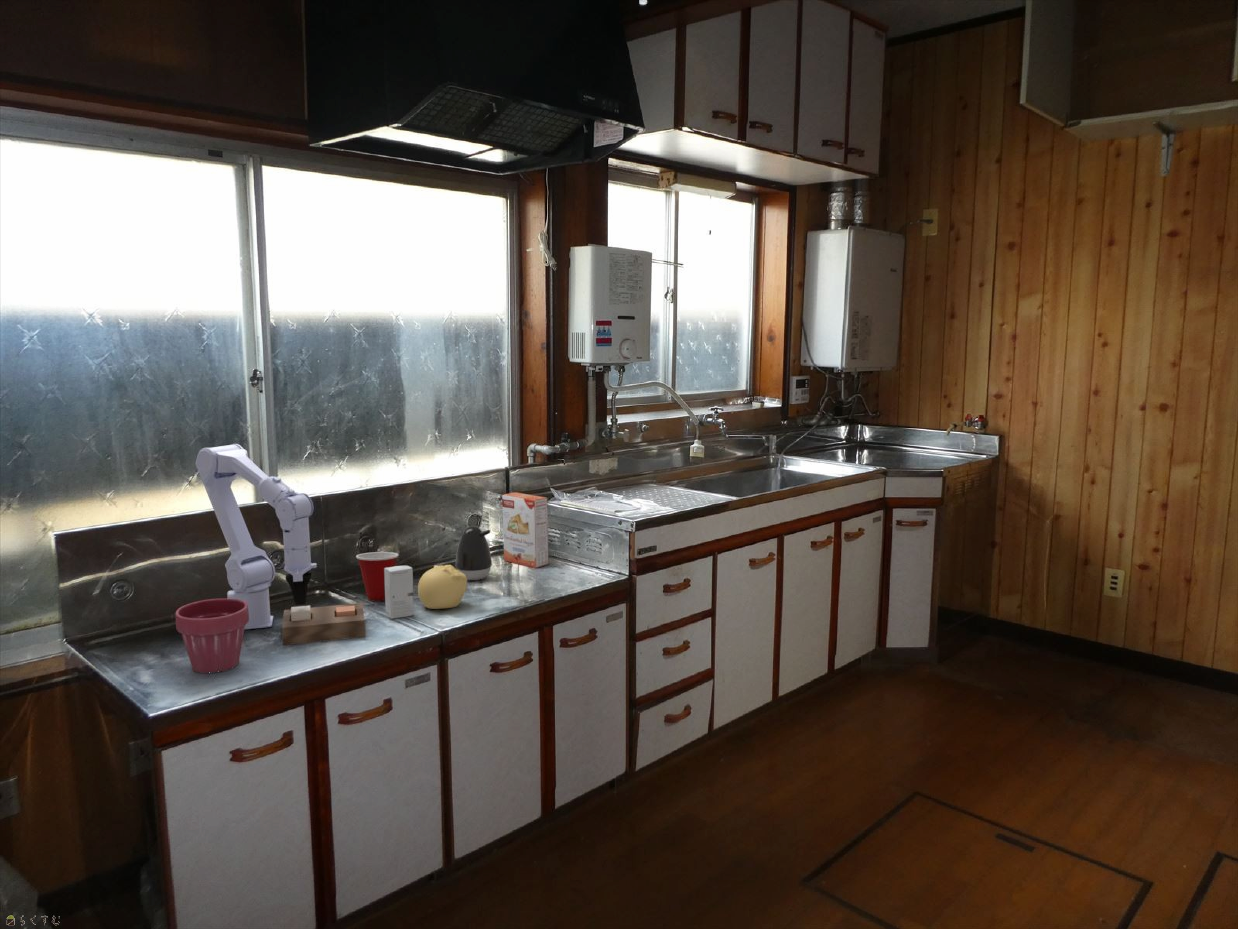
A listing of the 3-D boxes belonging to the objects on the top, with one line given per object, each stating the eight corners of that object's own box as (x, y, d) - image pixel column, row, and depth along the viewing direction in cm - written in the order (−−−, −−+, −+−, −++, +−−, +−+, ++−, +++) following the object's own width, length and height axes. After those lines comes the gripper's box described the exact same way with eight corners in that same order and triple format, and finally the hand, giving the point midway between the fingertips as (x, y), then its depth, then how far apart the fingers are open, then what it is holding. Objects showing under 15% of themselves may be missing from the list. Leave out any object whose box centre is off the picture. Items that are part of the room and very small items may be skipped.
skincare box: (391, 619, 225) (389, 571, 223) (385, 615, 229) (382, 567, 227) (415, 615, 228) (413, 568, 226) (408, 610, 232) (406, 564, 230)
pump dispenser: (483, 584, 255) (482, 531, 253) (449, 581, 258) (448, 528, 256) (498, 574, 265) (497, 523, 263) (465, 572, 268) (464, 521, 266)
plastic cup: (405, 592, 248) (404, 549, 246) (392, 604, 237) (390, 559, 236) (367, 591, 249) (365, 548, 247) (351, 603, 238) (349, 558, 237)
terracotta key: (337, 626, 215) (336, 612, 215) (336, 621, 219) (336, 607, 218) (355, 624, 216) (355, 610, 216) (355, 619, 220) (354, 605, 220)
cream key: (291, 627, 212) (290, 612, 211) (292, 621, 216) (291, 607, 215) (310, 625, 213) (310, 610, 213) (311, 619, 217) (310, 605, 217)
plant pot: (250, 673, 190) (246, 613, 188) (175, 682, 186) (171, 621, 184) (253, 650, 204) (249, 595, 202) (183, 658, 199) (178, 601, 197)
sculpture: (474, 606, 235) (473, 565, 234) (433, 616, 227) (432, 574, 226) (451, 597, 244) (449, 557, 242) (410, 606, 236) (409, 565, 234)
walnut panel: (282, 645, 207) (281, 628, 206) (285, 626, 220) (284, 610, 220) (365, 636, 213) (364, 620, 212) (362, 618, 226) (361, 603, 225)
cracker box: (502, 561, 280) (501, 494, 277) (517, 557, 285) (515, 491, 282) (535, 569, 271) (533, 499, 268) (549, 565, 276) (548, 496, 273)
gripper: (315, 552, 206) (318, 611, 208) (315, 538, 220) (318, 593, 222) (281, 555, 204) (285, 614, 206) (284, 541, 218) (287, 596, 220)
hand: (300, 603), depth 214 cm, fingers closed
